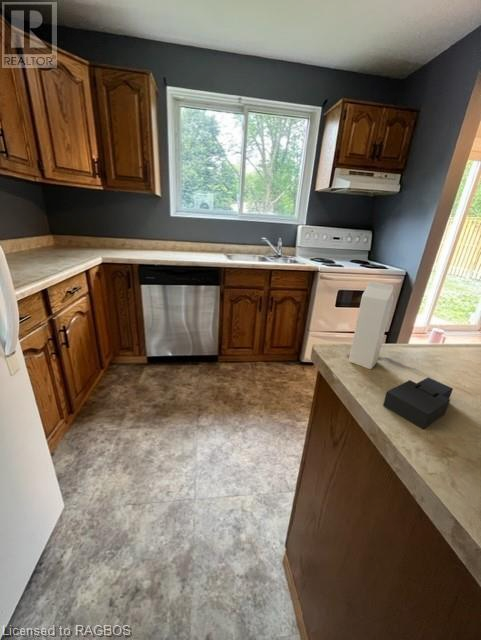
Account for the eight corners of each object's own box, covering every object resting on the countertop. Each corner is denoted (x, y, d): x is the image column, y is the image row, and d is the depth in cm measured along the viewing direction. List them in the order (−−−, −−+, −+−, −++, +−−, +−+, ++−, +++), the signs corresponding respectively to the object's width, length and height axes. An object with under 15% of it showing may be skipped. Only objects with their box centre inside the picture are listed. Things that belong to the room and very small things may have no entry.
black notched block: (405, 393, 61) (409, 379, 60) (445, 413, 55) (450, 399, 54) (382, 405, 57) (386, 391, 56) (423, 429, 50) (428, 414, 49)
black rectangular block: (423, 390, 63) (428, 377, 62) (448, 401, 59) (453, 388, 58) (408, 398, 59) (412, 385, 58) (433, 412, 55) (438, 397, 54)
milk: (370, 369, 71) (391, 287, 63) (347, 361, 74) (364, 282, 67) (377, 361, 75) (397, 283, 67) (355, 354, 79) (371, 279, 71)
